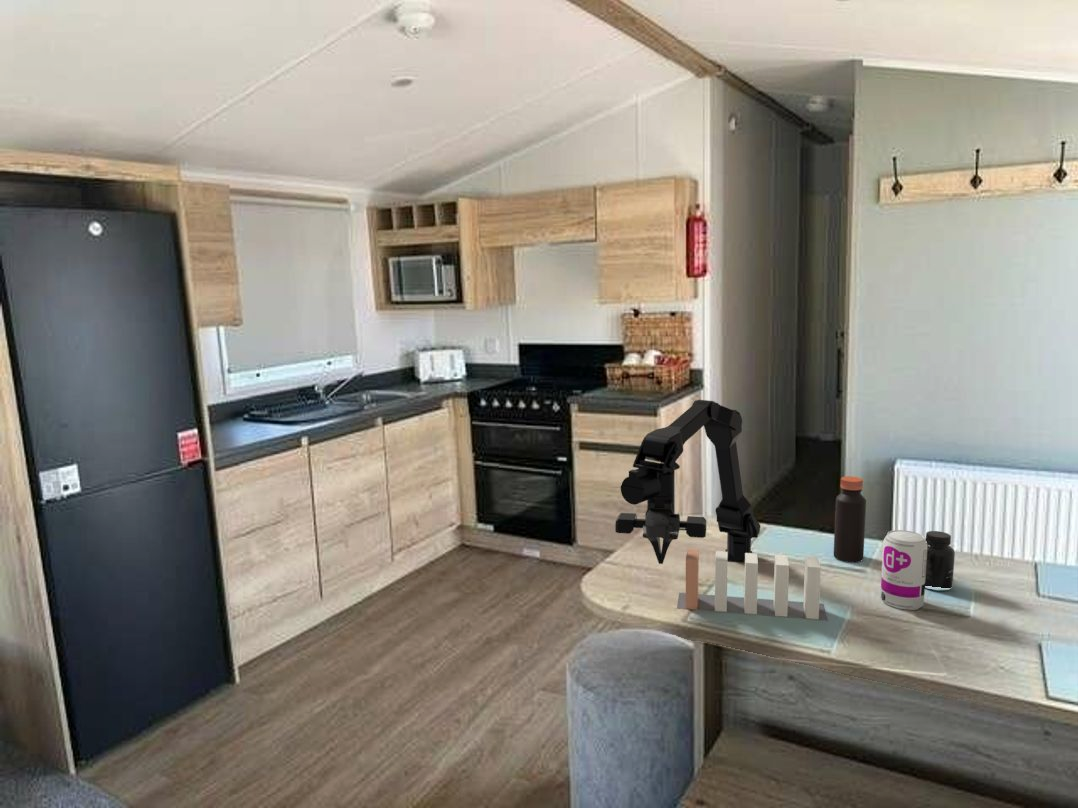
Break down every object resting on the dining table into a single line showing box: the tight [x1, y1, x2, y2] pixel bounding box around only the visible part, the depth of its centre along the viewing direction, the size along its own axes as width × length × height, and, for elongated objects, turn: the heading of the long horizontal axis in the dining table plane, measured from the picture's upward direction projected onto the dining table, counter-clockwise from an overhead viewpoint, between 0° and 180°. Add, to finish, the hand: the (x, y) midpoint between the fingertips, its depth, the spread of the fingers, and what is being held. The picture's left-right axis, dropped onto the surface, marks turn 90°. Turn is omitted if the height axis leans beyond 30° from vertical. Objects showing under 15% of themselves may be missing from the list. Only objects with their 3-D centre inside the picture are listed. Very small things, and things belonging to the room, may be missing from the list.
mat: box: [676, 592, 829, 622], centre depth 157 cm, size 8×30×1 cm, turn 76°
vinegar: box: [833, 476, 867, 563], centre depth 181 cm, size 7×7×20 cm
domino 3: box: [773, 554, 790, 618], centre depth 154 cm, size 2×6×11 cm, turn 166°
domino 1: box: [714, 550, 728, 613], centre depth 157 cm, size 2×6×11 cm, turn 166°
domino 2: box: [743, 552, 759, 615], centre depth 156 cm, size 2×6×11 cm, turn 166°
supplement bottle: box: [924, 530, 956, 589], centre depth 165 cm, size 7×7×12 cm
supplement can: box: [879, 529, 927, 611], centre depth 156 cm, size 8×8×15 cm
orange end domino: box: [685, 548, 700, 611], centre depth 158 cm, size 2×6×11 cm, turn 166°
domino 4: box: [803, 556, 822, 620], centre depth 153 cm, size 2×6×11 cm, turn 166°
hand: (661, 563), depth 160 cm, fingers closed
